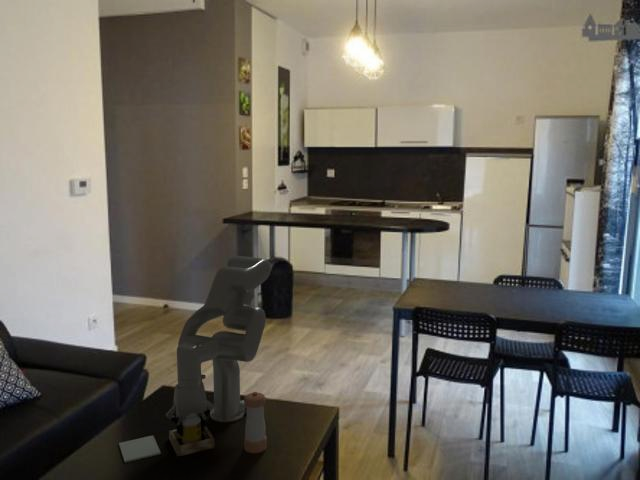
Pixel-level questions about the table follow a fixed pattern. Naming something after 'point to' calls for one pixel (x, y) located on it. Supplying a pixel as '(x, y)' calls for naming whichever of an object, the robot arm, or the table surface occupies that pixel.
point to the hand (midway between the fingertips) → (191, 431)
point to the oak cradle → (191, 446)
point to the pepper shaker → (255, 423)
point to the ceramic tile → (139, 448)
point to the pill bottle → (191, 429)
